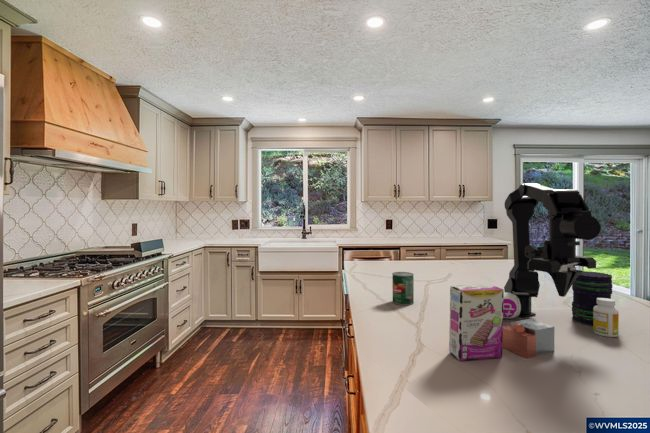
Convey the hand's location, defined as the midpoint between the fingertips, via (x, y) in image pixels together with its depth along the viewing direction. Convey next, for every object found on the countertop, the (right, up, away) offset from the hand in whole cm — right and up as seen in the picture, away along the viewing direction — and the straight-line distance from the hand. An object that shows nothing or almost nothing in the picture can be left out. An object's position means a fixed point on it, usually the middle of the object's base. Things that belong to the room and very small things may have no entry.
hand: (562, 296), depth 87 cm
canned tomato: (-33, -12, +39) cm, 52 cm away
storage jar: (+21, -12, +16) cm, 29 cm away
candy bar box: (-27, -12, -9) cm, 31 cm away
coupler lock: (-10, -12, -4) cm, 16 cm away
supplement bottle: (+16, -12, +6) cm, 21 cm away
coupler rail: (-11, -12, -4) cm, 17 cm away
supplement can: (-16, -7, +20) cm, 27 cm away
